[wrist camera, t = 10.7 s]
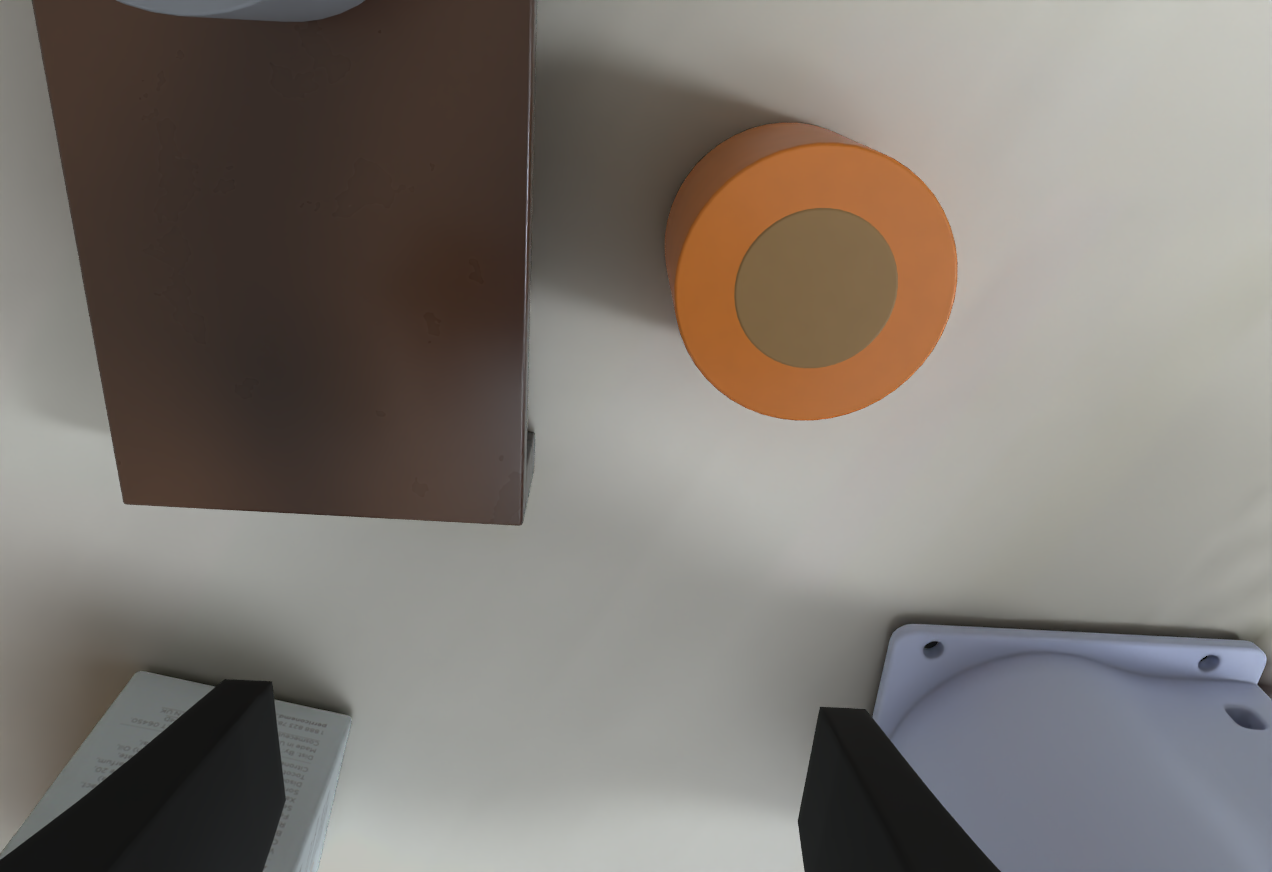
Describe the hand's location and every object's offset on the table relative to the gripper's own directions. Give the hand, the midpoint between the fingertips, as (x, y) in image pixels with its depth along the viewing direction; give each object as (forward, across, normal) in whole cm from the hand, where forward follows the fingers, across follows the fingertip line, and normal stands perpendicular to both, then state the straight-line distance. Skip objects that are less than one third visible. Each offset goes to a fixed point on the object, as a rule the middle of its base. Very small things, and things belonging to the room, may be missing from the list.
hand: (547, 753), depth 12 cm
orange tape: (+9, -4, -5) cm, 11 cm away
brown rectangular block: (+9, +5, -7) cm, 13 cm away
